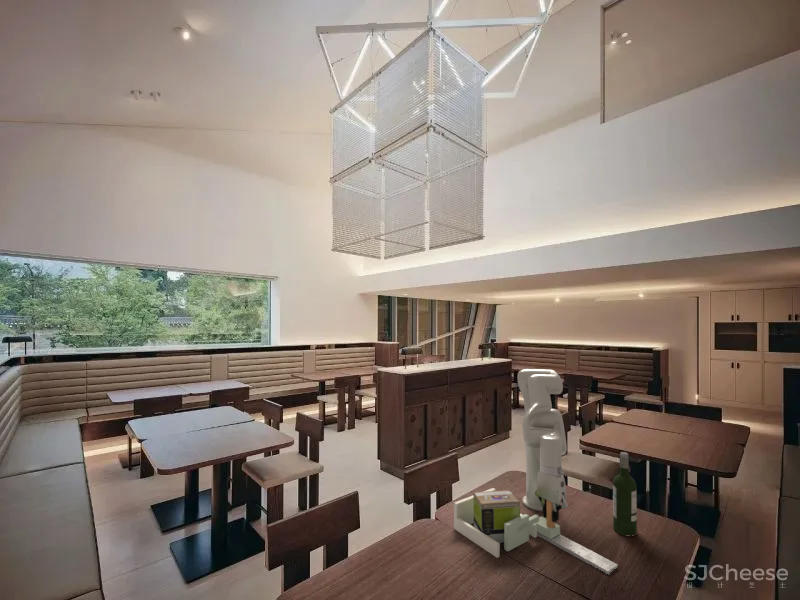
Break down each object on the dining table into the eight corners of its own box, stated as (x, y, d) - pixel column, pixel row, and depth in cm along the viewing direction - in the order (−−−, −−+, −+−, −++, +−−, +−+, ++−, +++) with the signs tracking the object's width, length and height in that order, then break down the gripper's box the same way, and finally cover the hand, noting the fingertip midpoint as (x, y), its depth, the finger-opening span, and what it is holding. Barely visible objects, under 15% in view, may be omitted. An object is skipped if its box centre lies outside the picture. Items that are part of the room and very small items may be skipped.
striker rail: (517, 515, 159) (517, 512, 159) (617, 568, 127) (617, 564, 127) (508, 519, 156) (508, 516, 156) (608, 575, 123) (608, 571, 123)
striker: (541, 526, 150) (541, 490, 151) (560, 536, 144) (560, 498, 144) (500, 547, 136) (501, 507, 137) (519, 559, 130) (519, 517, 130)
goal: (492, 512, 162) (492, 488, 162) (536, 536, 144) (536, 509, 144) (453, 528, 149) (454, 502, 149) (497, 557, 131) (497, 528, 131)
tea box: (510, 527, 150) (510, 489, 151) (521, 542, 140) (521, 501, 141) (472, 529, 148) (473, 490, 149) (481, 545, 138) (481, 503, 139)
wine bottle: (640, 538, 144) (639, 457, 145) (617, 535, 145) (616, 456, 146) (632, 527, 151) (631, 450, 152) (610, 524, 153) (609, 448, 154)
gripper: (576, 474, 140) (576, 525, 139) (537, 460, 153) (537, 506, 153) (565, 479, 136) (565, 532, 135) (526, 464, 149) (525, 512, 148)
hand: (550, 518), depth 144 cm, fingers closed on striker, 3 cm apart
